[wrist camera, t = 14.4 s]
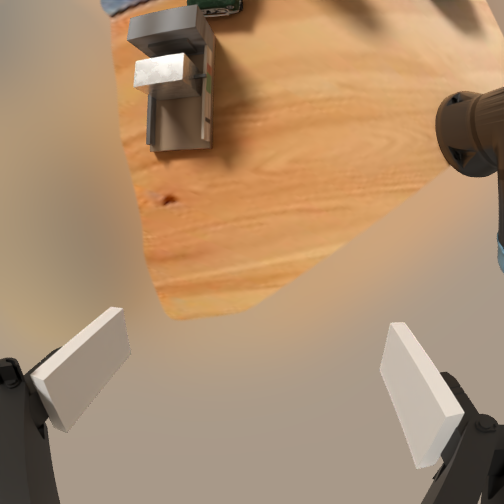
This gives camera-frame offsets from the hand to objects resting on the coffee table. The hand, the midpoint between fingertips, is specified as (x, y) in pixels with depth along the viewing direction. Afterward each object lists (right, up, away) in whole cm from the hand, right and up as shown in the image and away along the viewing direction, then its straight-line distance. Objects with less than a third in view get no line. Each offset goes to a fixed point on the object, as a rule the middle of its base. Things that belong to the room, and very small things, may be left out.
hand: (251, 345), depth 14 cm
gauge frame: (-11, +30, +30) cm, 44 cm away
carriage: (-10, +30, +28) cm, 42 cm away
